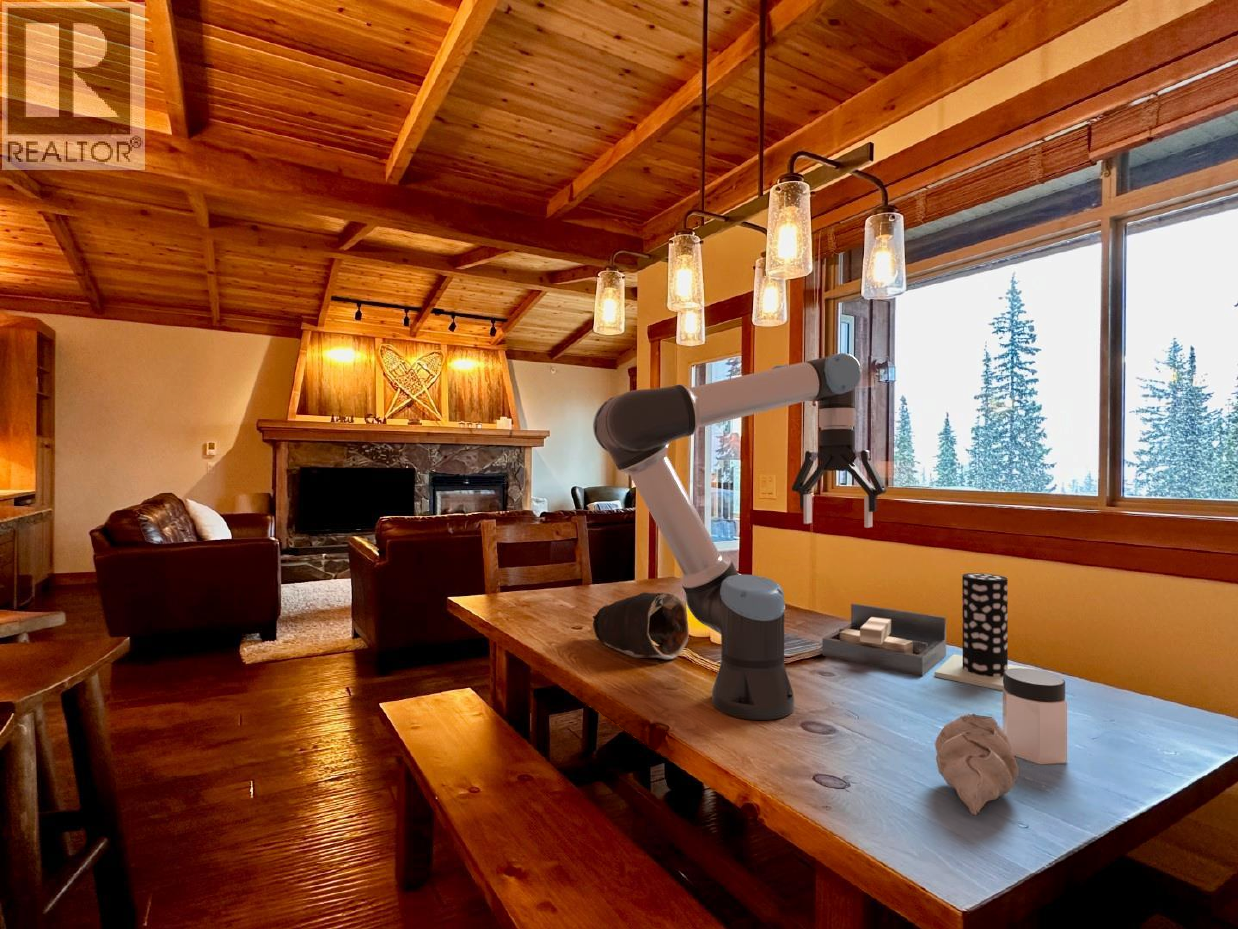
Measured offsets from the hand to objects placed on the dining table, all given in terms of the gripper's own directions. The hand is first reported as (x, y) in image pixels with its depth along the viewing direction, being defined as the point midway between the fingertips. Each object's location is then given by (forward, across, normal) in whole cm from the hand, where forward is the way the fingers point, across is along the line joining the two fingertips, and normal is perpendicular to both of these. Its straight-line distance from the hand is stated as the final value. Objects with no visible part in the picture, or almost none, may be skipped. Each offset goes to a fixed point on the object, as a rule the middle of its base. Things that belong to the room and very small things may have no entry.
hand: (837, 525), depth 138 cm
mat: (+32, -26, -16) cm, 44 cm away
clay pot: (+32, +44, +18) cm, 57 cm away
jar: (+32, -39, +19) cm, 54 cm away
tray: (+32, -5, -16) cm, 36 cm away
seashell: (+32, -35, +38) cm, 61 cm away
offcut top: (+26, -4, -11) cm, 29 cm away
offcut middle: (+29, -4, -11) cm, 32 cm away
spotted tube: (+31, -25, -16) cm, 43 cm away
